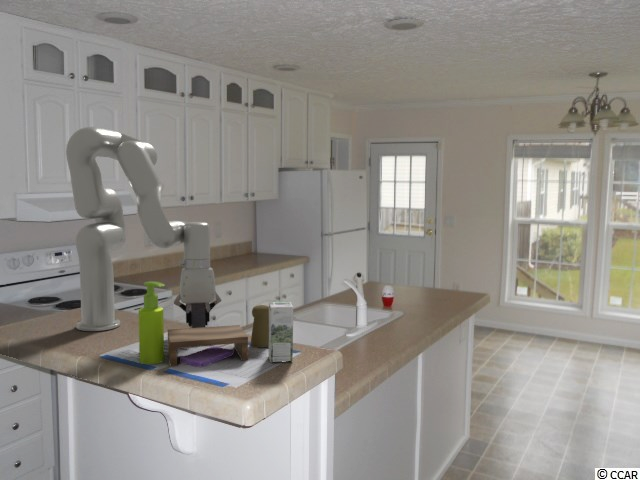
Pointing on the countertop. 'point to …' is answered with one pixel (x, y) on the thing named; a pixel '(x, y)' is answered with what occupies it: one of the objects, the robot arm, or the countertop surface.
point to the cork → (260, 326)
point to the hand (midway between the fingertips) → (197, 324)
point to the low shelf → (207, 339)
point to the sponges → (206, 356)
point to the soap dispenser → (151, 327)
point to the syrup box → (280, 331)
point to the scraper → (197, 315)
